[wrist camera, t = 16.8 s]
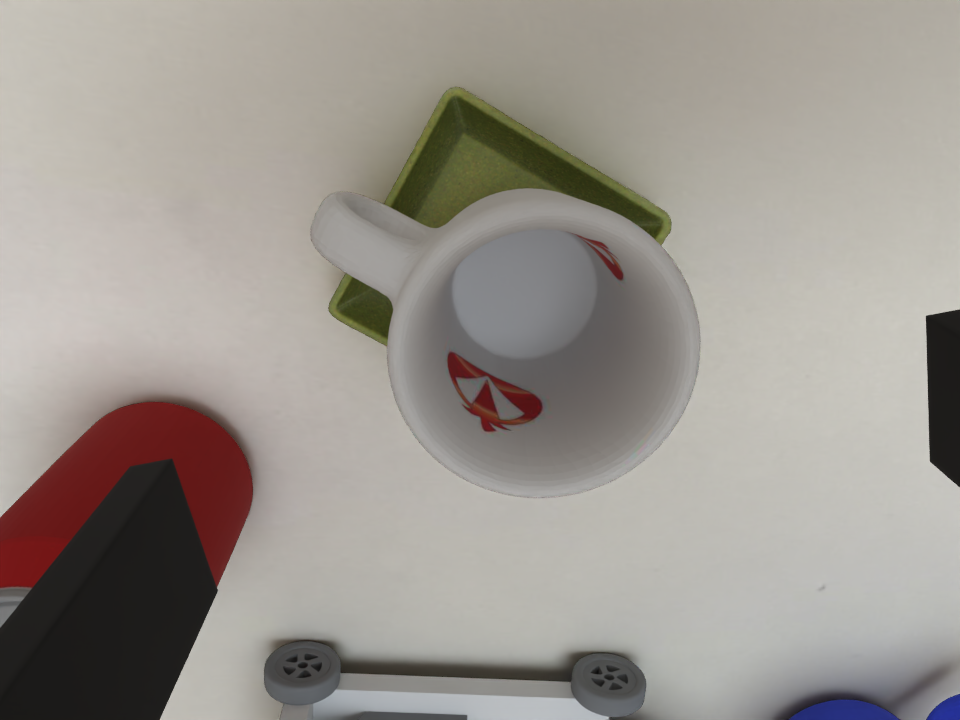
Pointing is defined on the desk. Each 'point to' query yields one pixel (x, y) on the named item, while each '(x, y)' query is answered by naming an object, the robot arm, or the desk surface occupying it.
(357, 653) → the desk surface
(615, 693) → the toy car
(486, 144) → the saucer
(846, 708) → the mug
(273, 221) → the desk surface
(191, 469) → the beverage can
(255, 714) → the desk surface
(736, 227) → the desk surface
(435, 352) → the cup
